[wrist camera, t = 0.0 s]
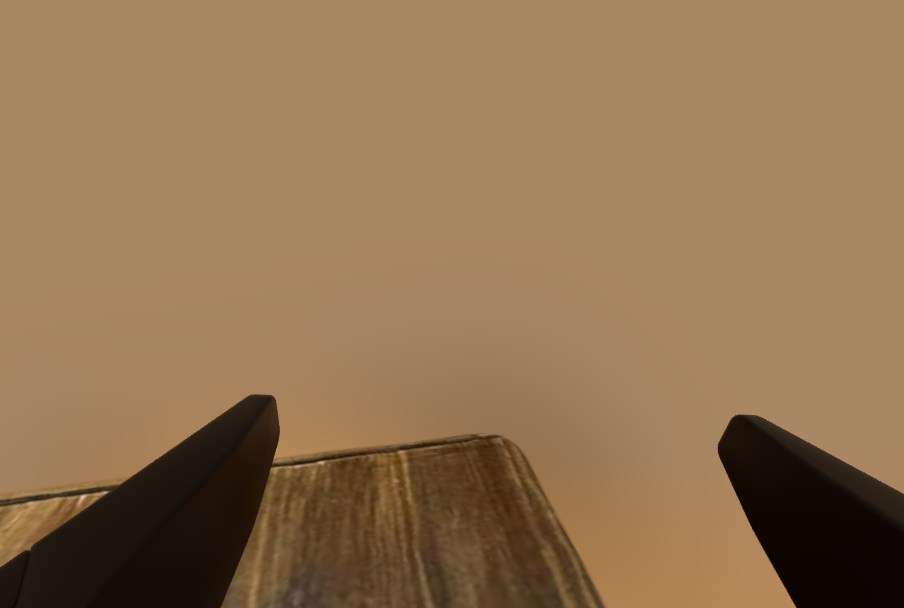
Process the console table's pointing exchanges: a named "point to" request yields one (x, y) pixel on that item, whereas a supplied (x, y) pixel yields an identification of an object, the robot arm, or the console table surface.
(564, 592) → the console table surface
